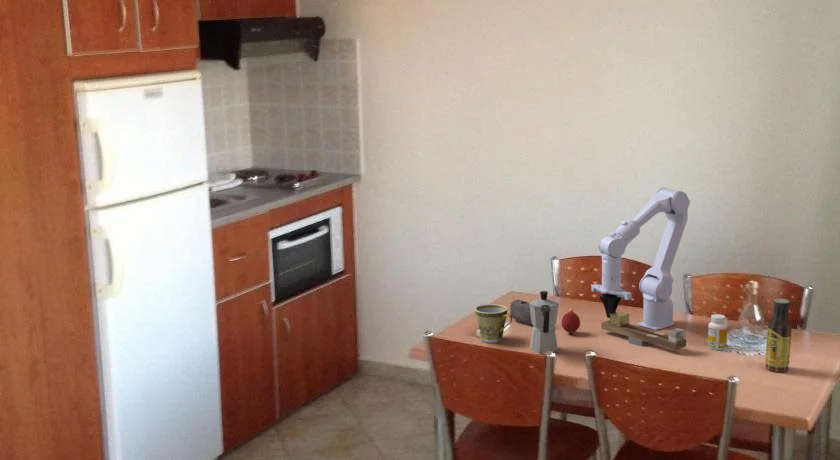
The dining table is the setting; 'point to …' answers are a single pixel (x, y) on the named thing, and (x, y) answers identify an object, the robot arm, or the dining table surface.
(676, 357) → the dining table surface
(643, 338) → the beam
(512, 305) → the perforated stone tool
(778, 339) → the sauce bottle
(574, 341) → the dining table surface
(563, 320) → the onion
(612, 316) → the block
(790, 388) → the dining table surface
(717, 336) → the supplement bottle
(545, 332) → the coffee maker
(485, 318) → the ceramic cup
